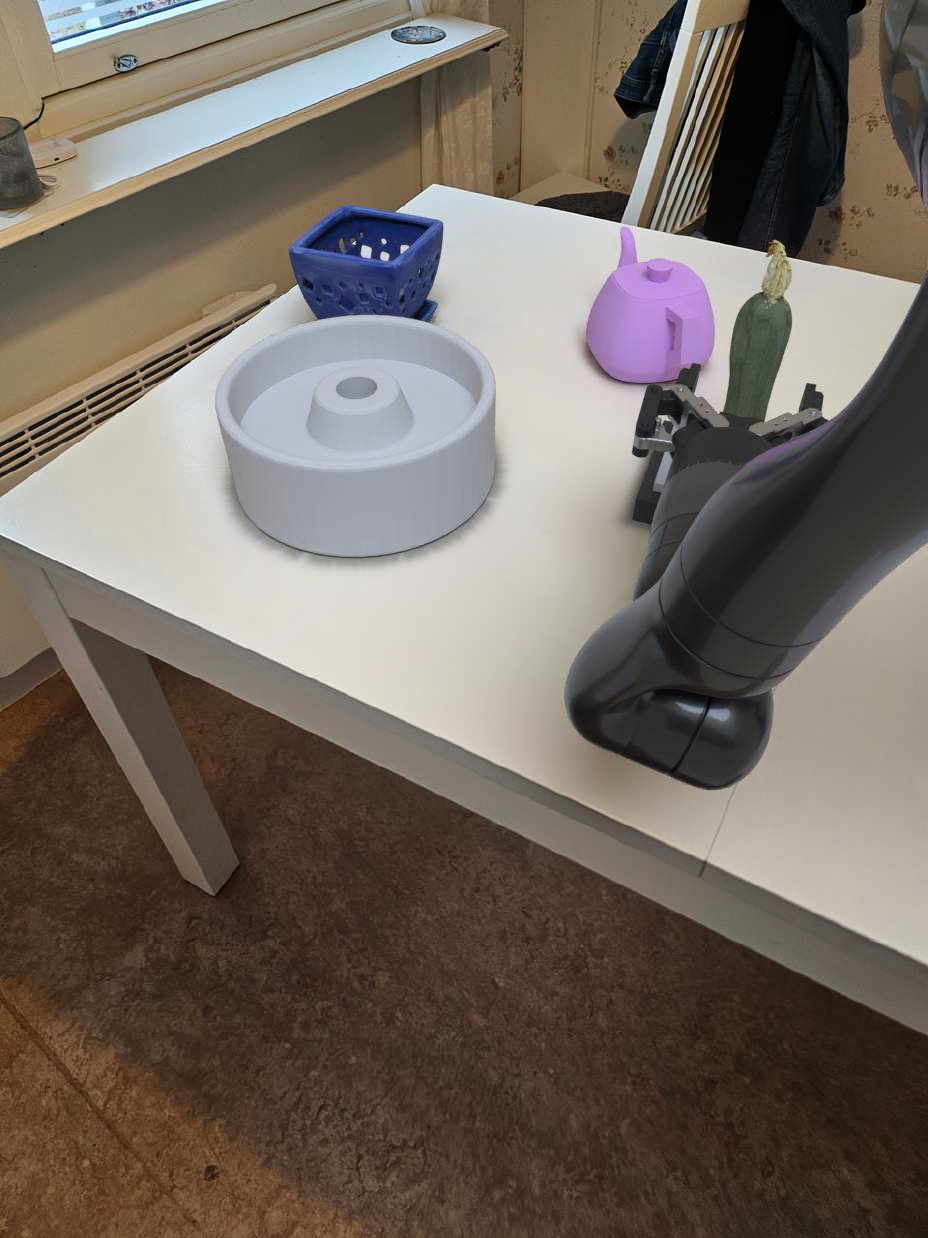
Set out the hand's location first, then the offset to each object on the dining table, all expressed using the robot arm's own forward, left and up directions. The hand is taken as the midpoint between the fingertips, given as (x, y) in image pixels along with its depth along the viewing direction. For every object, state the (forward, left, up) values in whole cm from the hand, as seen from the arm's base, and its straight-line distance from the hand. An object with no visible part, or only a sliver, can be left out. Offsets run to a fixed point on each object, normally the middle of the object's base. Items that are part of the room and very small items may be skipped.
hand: (750, 383), depth 67 cm
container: (+33, +2, -16) cm, 37 cm away
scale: (0, -6, -16) cm, 17 cm away
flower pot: (+43, -23, -16) cm, 51 cm away
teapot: (+12, -28, -16) cm, 35 cm away
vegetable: (0, -6, -12) cm, 14 cm away
